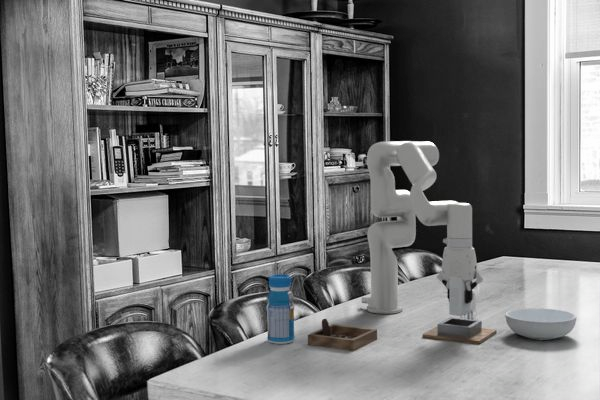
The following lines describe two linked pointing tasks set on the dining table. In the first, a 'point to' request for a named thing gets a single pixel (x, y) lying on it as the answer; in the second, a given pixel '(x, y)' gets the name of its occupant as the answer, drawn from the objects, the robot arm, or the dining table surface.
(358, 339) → the square wooden tray
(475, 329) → the board with square socket
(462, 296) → the skincare box
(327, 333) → the compass
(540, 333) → the serving bowl
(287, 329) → the beverage bottle
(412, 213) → the robot arm
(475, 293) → the beer glass
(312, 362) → the dining table surface
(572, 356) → the dining table surface
